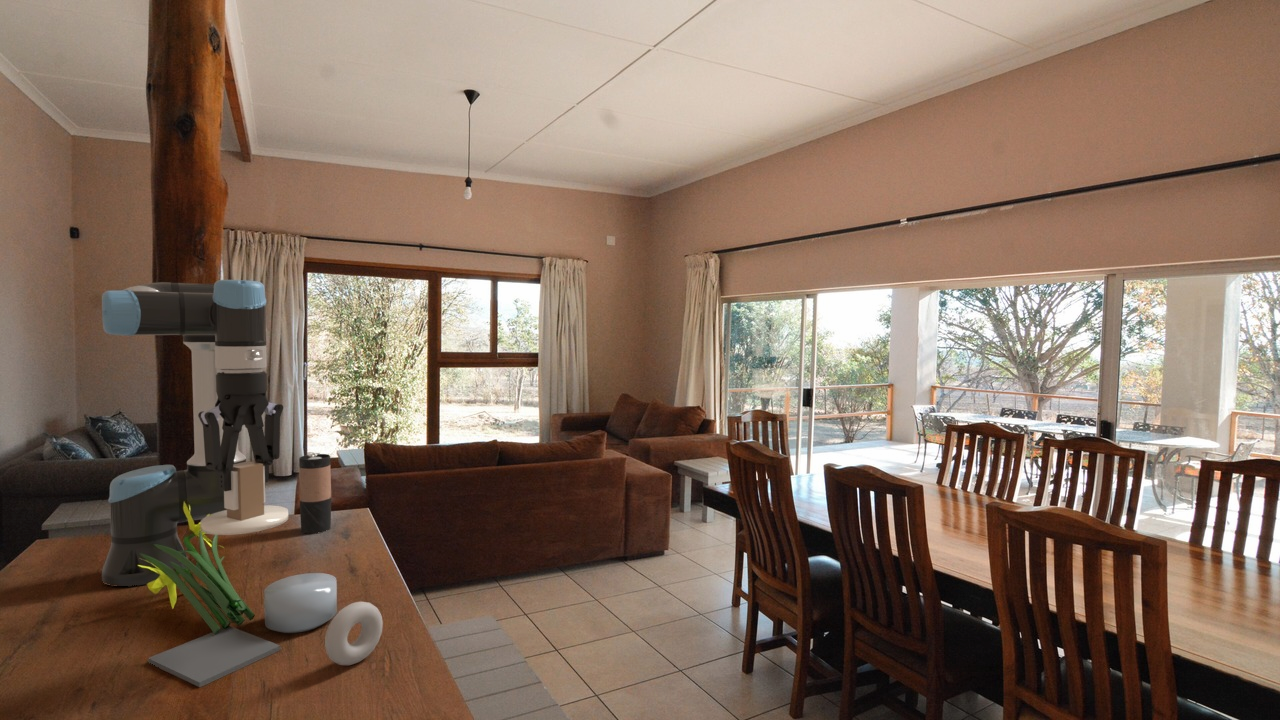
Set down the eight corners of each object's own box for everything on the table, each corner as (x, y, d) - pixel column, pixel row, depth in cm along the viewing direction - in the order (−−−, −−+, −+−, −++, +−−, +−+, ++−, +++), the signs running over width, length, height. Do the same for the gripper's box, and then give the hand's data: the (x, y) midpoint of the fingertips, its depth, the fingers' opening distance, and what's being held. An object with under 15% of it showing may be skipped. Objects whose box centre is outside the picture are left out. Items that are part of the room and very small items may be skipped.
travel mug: (318, 535, 170) (317, 460, 169) (293, 533, 172) (292, 458, 171) (337, 526, 178) (336, 454, 177) (313, 524, 179) (312, 453, 178)
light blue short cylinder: (250, 627, 119) (249, 590, 119) (310, 602, 130) (309, 568, 129) (292, 643, 113) (291, 604, 113) (350, 615, 124) (350, 580, 124)
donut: (374, 646, 113) (374, 590, 112) (387, 652, 111) (386, 595, 110) (320, 672, 104) (319, 612, 104) (333, 679, 102) (332, 617, 102)
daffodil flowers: (162, 657, 108) (105, 561, 129) (241, 666, 120) (177, 576, 140) (227, 565, 113) (162, 486, 133) (297, 582, 124) (227, 507, 144)
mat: (148, 662, 106) (147, 658, 106) (229, 629, 118) (228, 625, 118) (199, 687, 100) (199, 682, 99) (280, 650, 111) (280, 645, 111)
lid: (183, 527, 109) (182, 468, 109) (258, 508, 121) (257, 454, 120) (231, 539, 103) (229, 476, 103) (304, 518, 115) (303, 461, 114)
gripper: (202, 375, 101) (206, 521, 103) (301, 368, 116) (304, 496, 118) (175, 373, 105) (179, 515, 106) (275, 367, 120) (277, 491, 121)
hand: (245, 504), depth 112 cm, fingers closed on lid, 4 cm apart
